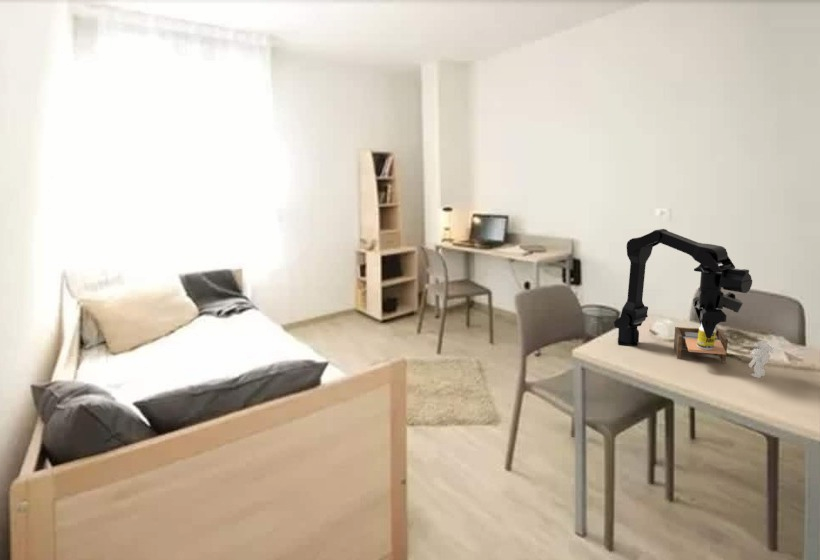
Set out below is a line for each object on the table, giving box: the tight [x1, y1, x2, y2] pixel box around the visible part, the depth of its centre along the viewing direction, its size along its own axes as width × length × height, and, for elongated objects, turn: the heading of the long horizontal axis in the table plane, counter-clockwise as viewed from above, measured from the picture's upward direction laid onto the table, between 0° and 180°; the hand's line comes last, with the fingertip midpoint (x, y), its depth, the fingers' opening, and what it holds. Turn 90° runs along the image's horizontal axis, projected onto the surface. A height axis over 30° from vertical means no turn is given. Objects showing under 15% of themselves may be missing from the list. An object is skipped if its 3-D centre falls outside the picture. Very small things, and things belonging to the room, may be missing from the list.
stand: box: [673, 326, 729, 363], centre depth 165 cm, size 14×10×8 cm
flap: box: [683, 332, 727, 355], centre depth 159 cm, size 11×14×4 cm
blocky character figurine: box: [748, 340, 774, 379], centre depth 147 cm, size 9×4×12 cm, turn 117°
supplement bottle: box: [697, 323, 717, 350], centre depth 153 cm, size 5×5×8 cm
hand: (706, 334), depth 154 cm, fingers open, 6 cm apart
